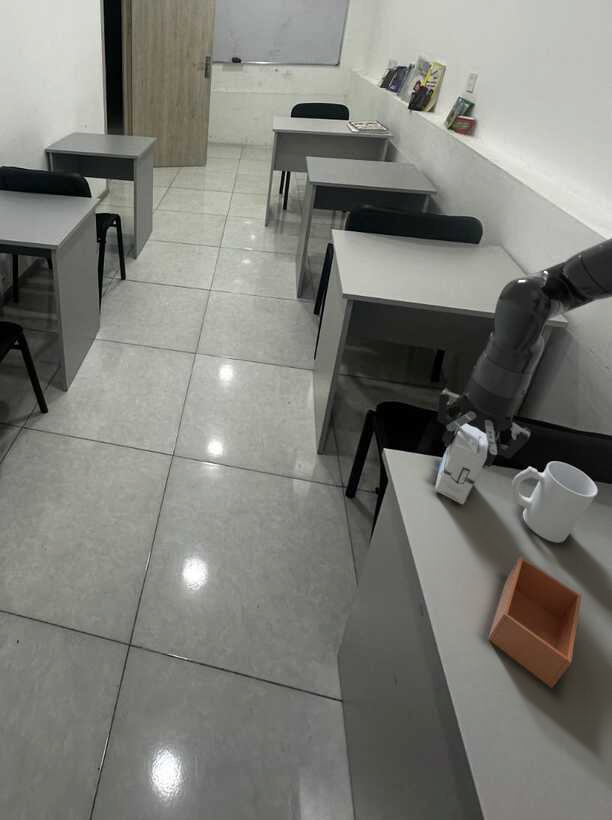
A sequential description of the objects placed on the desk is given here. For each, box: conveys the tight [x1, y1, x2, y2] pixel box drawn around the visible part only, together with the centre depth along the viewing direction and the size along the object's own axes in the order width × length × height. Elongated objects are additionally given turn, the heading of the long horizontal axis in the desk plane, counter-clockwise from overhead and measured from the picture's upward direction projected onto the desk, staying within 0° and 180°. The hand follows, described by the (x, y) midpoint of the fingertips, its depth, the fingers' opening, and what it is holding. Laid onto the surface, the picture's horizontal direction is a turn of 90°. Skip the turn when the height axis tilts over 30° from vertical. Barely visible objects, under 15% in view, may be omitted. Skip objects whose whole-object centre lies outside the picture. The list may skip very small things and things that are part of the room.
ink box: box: [434, 424, 489, 505], centre depth 88 cm, size 9×5×12 cm, turn 144°
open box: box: [487, 555, 582, 689], centre depth 68 cm, size 7×11×6 cm, turn 135°
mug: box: [511, 460, 599, 543], centre depth 83 cm, size 10×7×12 cm, turn 60°
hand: (464, 453), depth 87 cm, fingers closed on ink box, 5 cm apart
